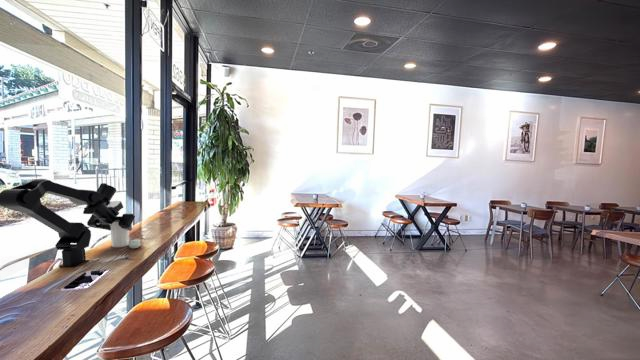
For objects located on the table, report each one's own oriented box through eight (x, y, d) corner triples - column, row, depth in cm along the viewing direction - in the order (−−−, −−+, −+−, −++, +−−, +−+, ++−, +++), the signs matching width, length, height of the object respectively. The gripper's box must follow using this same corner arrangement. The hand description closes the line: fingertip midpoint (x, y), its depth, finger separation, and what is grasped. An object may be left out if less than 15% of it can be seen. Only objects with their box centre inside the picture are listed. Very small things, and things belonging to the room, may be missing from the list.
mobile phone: (110, 268, 105) (87, 286, 90) (110, 271, 105) (87, 289, 91) (85, 270, 103) (58, 289, 89) (86, 273, 103) (58, 292, 89)
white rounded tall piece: (122, 247, 132) (120, 221, 130) (108, 247, 132) (106, 221, 131) (132, 242, 138) (131, 218, 137) (119, 242, 138) (117, 218, 137)
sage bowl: (136, 248, 129) (135, 242, 129) (126, 248, 129) (126, 242, 129) (142, 245, 134) (142, 239, 133) (133, 245, 134) (133, 239, 134)
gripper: (130, 196, 128) (148, 215, 140) (90, 195, 129) (111, 215, 141) (118, 217, 121) (138, 235, 133) (76, 217, 122) (99, 235, 134)
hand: (121, 229), depth 136 cm, fingers open, 9 cm apart
